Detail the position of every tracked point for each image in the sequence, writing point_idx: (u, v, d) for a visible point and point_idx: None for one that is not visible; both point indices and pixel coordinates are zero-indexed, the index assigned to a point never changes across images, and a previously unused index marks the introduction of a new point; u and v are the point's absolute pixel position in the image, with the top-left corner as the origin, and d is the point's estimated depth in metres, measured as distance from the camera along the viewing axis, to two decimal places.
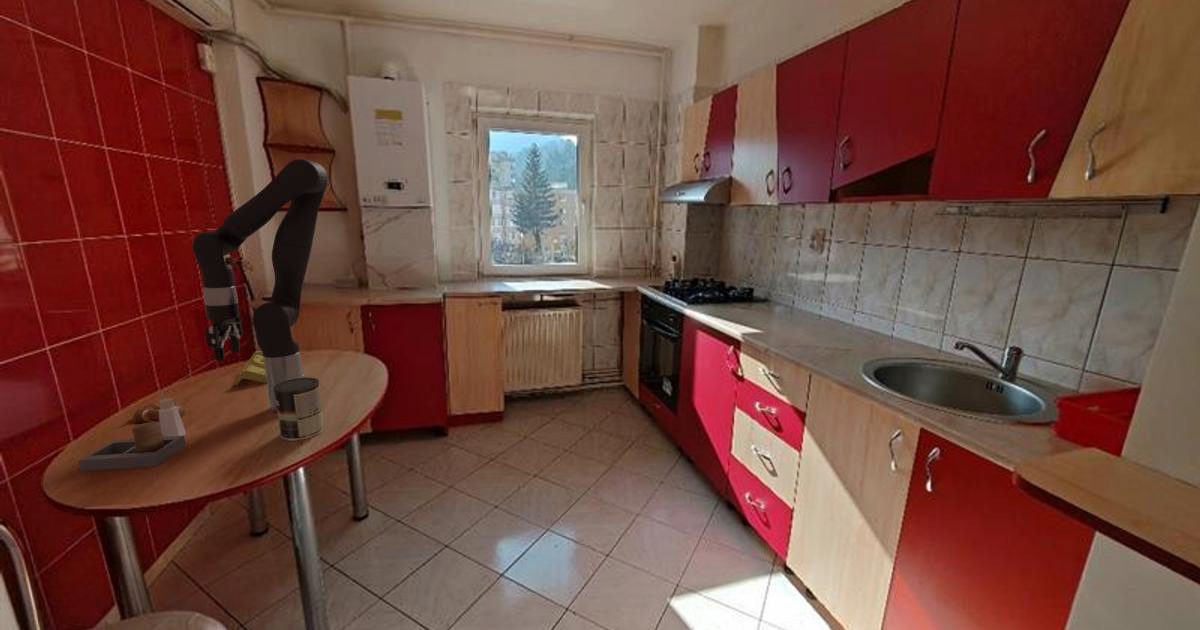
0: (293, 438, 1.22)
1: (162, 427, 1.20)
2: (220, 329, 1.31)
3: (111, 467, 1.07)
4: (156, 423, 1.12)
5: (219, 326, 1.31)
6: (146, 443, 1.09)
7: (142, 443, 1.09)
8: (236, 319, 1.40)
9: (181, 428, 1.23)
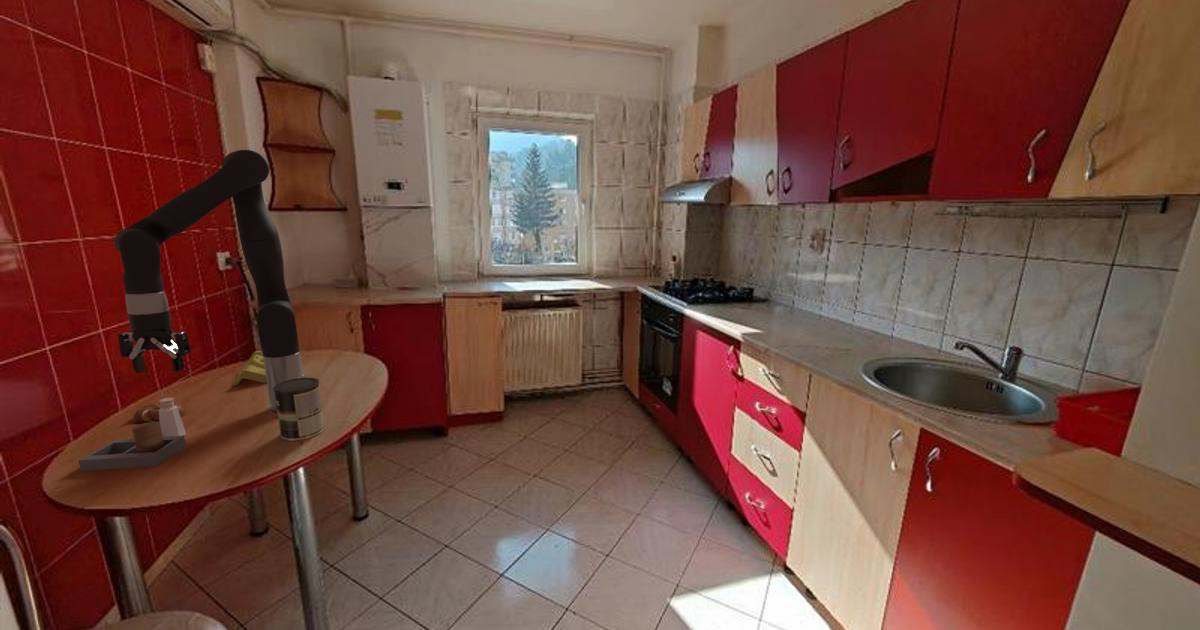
0: (293, 438, 1.22)
1: (162, 427, 1.20)
2: None
3: (111, 467, 1.07)
4: (156, 423, 1.12)
5: None
6: (146, 443, 1.09)
7: (142, 443, 1.09)
8: None
9: (181, 428, 1.23)
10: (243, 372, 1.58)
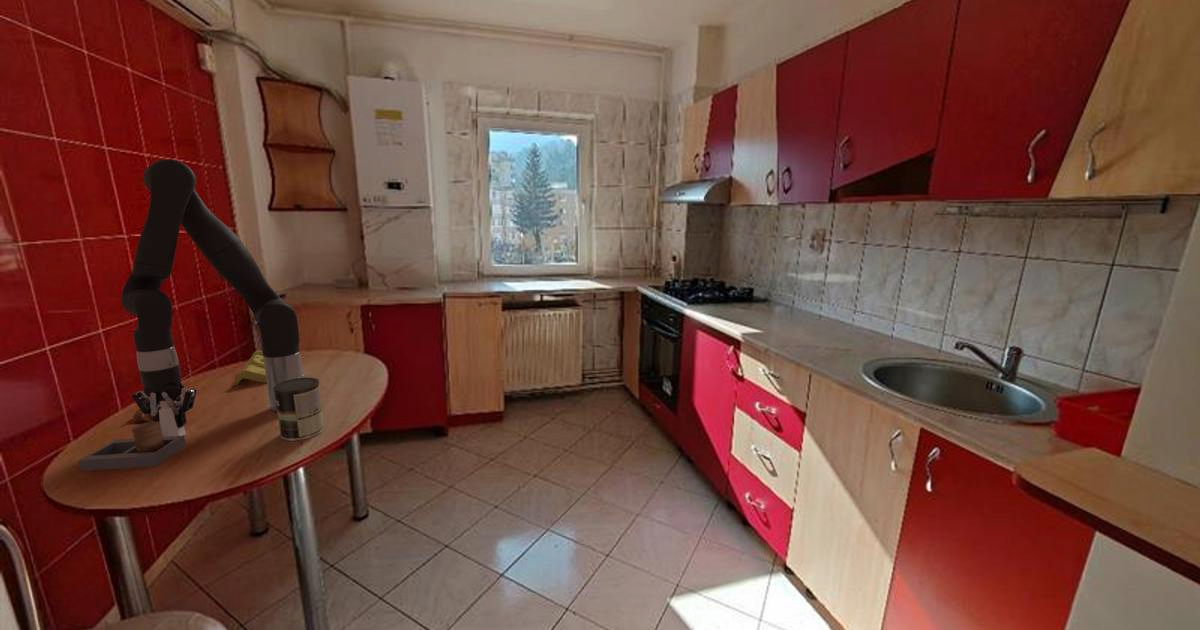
0: (293, 438, 1.22)
1: (162, 427, 1.20)
2: None
3: (111, 467, 1.07)
4: (156, 423, 1.12)
5: None
6: (146, 443, 1.09)
7: (142, 443, 1.09)
8: None
9: (181, 428, 1.23)
10: (243, 372, 1.58)
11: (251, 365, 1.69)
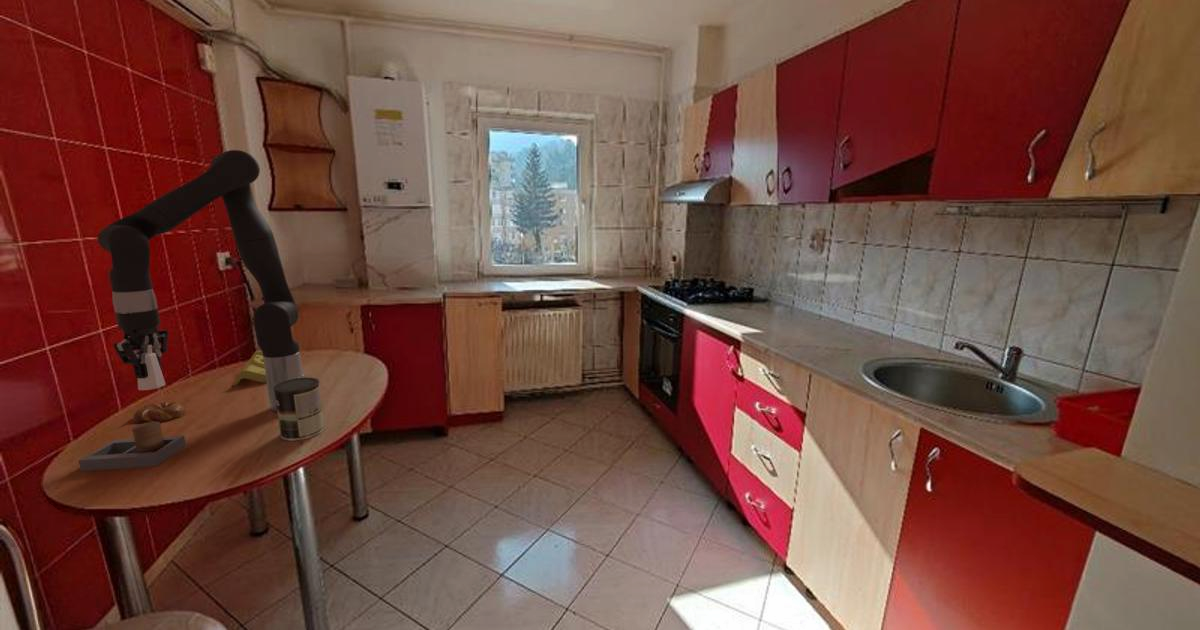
0: (293, 438, 1.22)
1: (156, 371, 1.17)
2: None
3: (111, 467, 1.07)
4: (156, 423, 1.12)
5: None
6: (146, 443, 1.09)
7: (142, 443, 1.09)
8: None
9: None
10: (243, 372, 1.58)
11: (251, 365, 1.69)
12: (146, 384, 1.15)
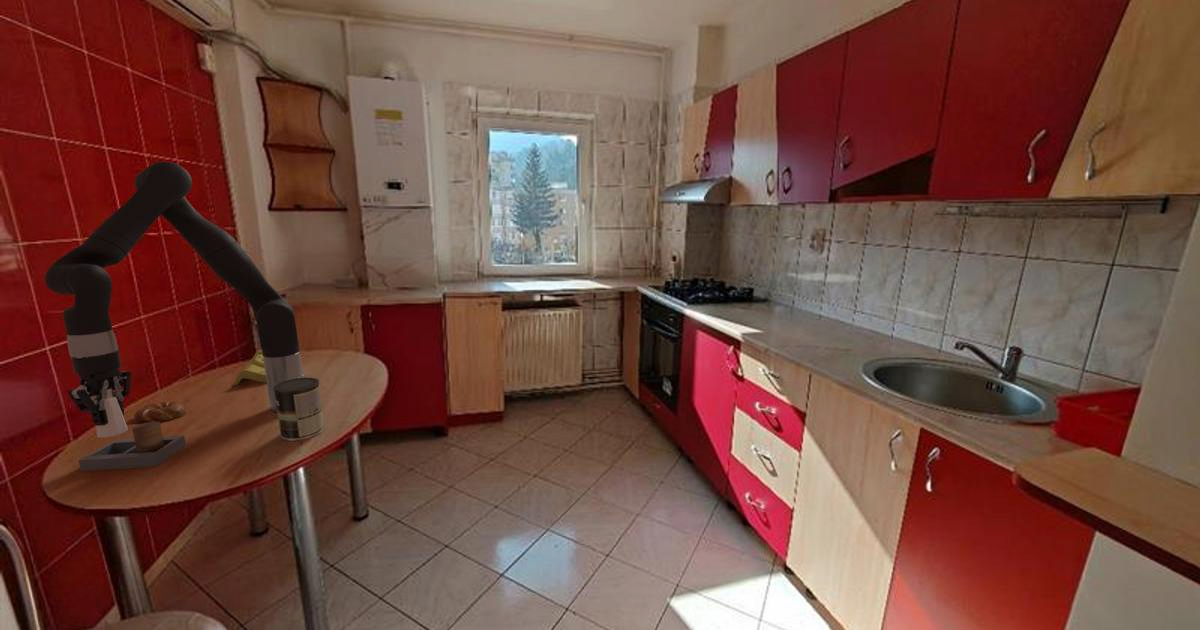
0: (293, 438, 1.22)
1: (116, 417, 1.09)
2: None
3: (111, 467, 1.07)
4: (156, 423, 1.12)
5: None
6: (146, 443, 1.09)
7: (142, 443, 1.09)
8: None
9: None
10: (243, 372, 1.59)
11: (252, 365, 1.69)
12: (105, 431, 1.07)
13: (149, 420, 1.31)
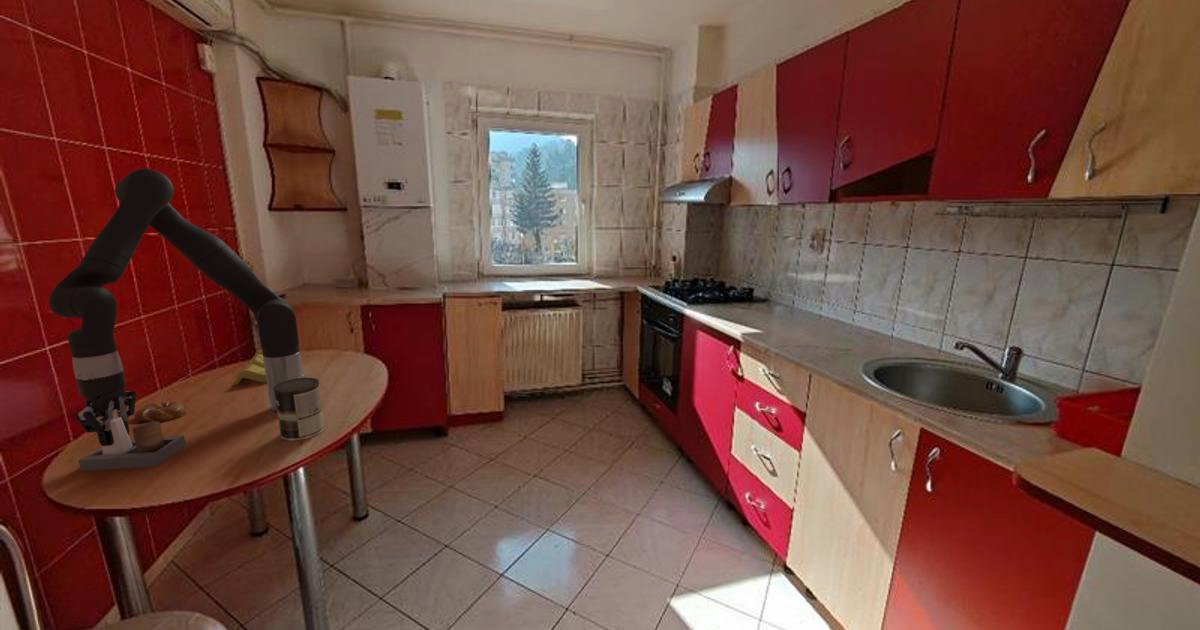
0: (293, 438, 1.22)
1: (122, 437, 1.10)
2: None
3: (111, 467, 1.07)
4: (156, 423, 1.12)
5: None
6: (146, 443, 1.09)
7: (142, 443, 1.09)
8: None
9: None
10: (243, 372, 1.59)
11: (253, 365, 1.69)
12: (111, 451, 1.08)
13: (149, 420, 1.31)
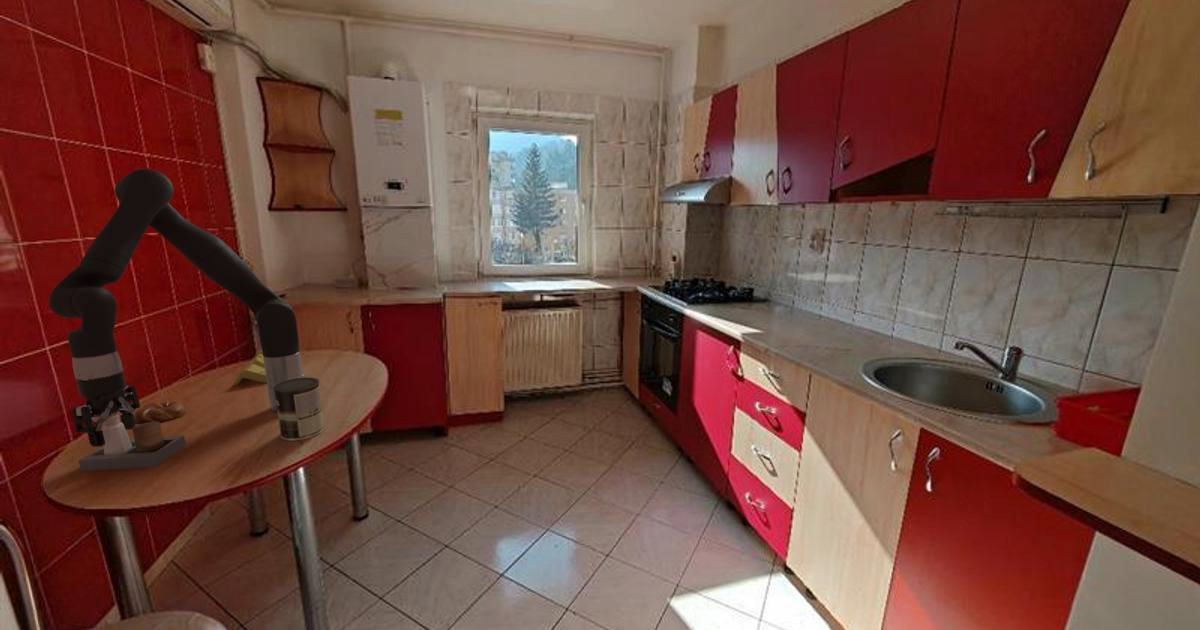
0: (293, 438, 1.22)
1: (124, 443, 1.10)
2: None
3: (111, 467, 1.07)
4: (156, 423, 1.12)
5: None
6: (146, 443, 1.09)
7: (142, 443, 1.09)
8: None
9: None
10: (243, 372, 1.59)
11: (253, 364, 1.69)
12: None
13: (149, 420, 1.31)
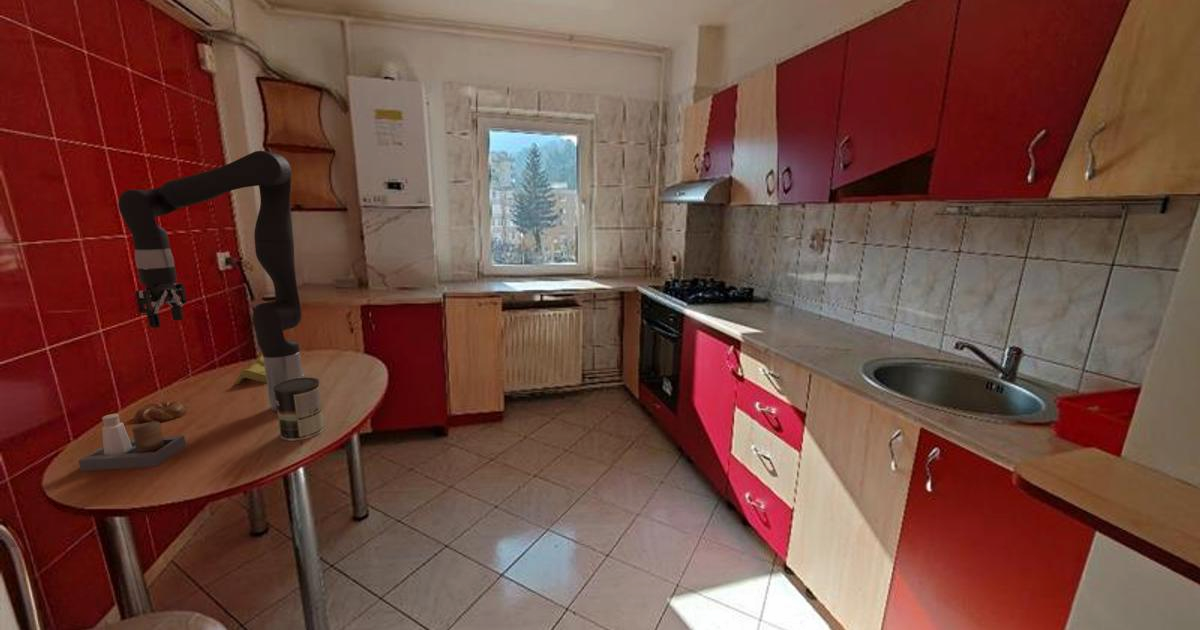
0: (293, 438, 1.22)
1: (124, 443, 1.10)
2: None
3: (111, 467, 1.07)
4: (156, 423, 1.12)
5: None
6: (146, 443, 1.09)
7: (142, 443, 1.09)
8: None
9: None
10: (243, 371, 1.59)
11: (256, 364, 1.70)
12: None
13: (149, 420, 1.31)
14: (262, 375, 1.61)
